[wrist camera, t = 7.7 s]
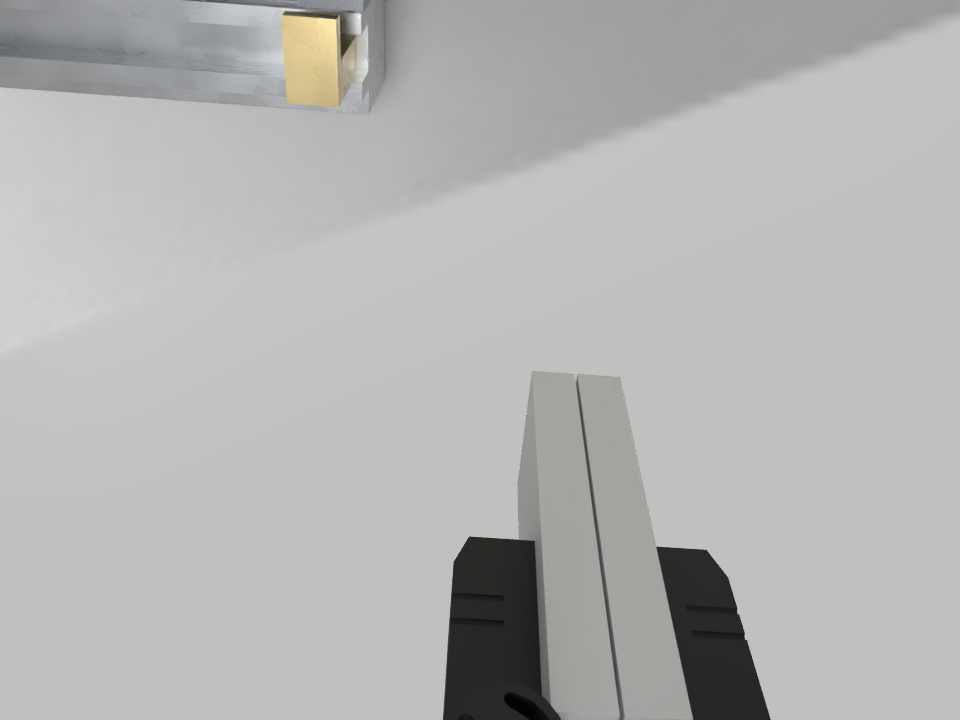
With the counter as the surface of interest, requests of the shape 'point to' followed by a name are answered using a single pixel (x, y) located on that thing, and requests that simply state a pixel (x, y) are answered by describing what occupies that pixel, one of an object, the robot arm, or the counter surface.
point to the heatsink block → (197, 51)
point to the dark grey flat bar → (335, 4)
